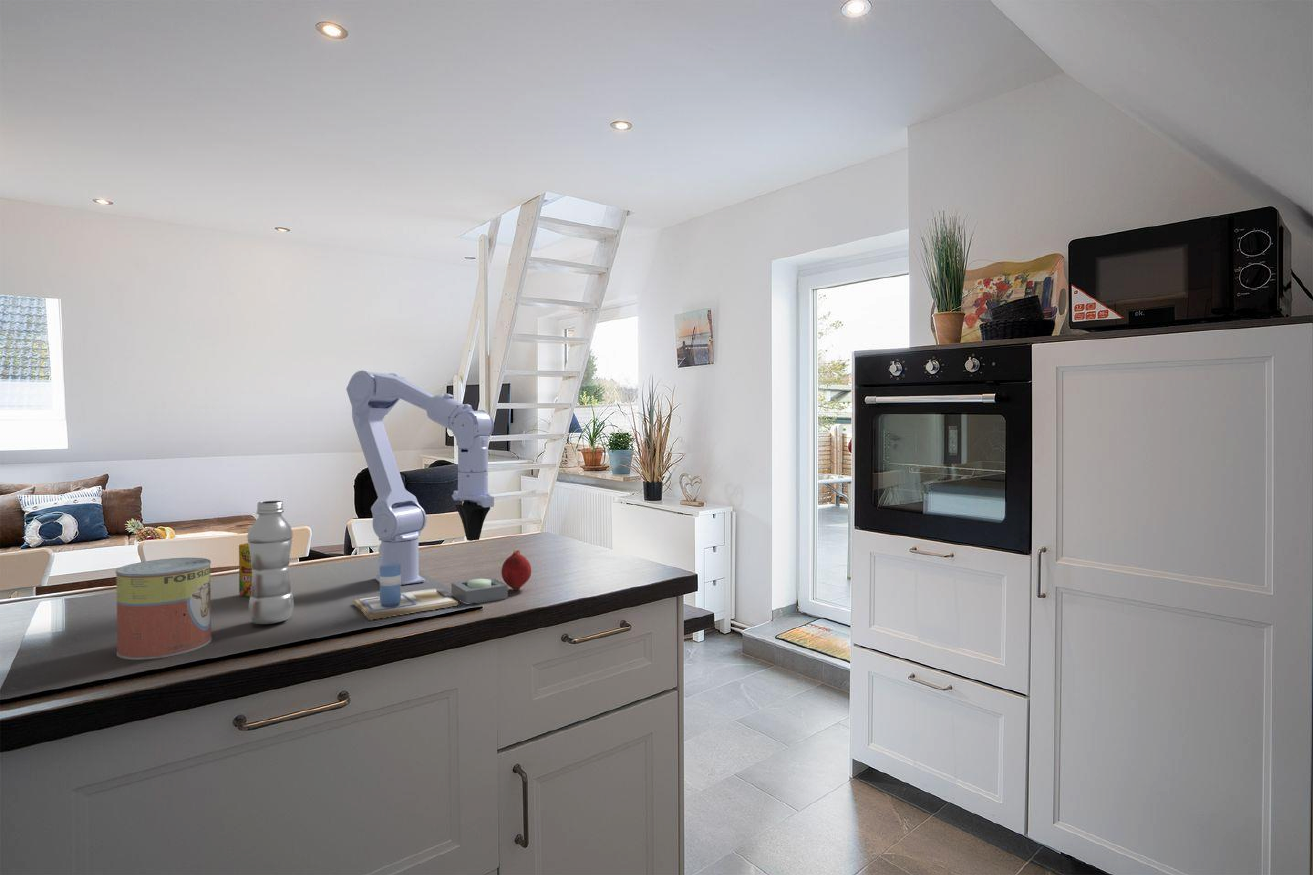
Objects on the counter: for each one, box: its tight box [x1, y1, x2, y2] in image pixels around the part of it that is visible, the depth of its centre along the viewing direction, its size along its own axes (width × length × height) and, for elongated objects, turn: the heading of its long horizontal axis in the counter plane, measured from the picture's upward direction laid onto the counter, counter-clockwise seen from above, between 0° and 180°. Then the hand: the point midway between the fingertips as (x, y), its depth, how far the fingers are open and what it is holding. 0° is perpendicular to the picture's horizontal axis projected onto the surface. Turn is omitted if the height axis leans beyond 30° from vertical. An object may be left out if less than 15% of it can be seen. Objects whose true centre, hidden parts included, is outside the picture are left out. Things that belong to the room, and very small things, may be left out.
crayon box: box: [238, 542, 252, 598], centre depth 126 cm, size 7×3×12 cm, turn 68°
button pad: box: [450, 576, 509, 604], centre depth 126 cm, size 8×8×2 cm
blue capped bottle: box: [379, 564, 402, 608], centre depth 117 cm, size 3×3×7 cm
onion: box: [500, 549, 532, 591], centre depth 132 cm, size 6×6×8 cm
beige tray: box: [353, 587, 459, 621], centre depth 120 cm, size 12×15×1 cm
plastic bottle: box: [246, 500, 295, 625], centre depth 109 cm, size 6×7×20 cm
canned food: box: [115, 557, 213, 661], centre depth 98 cm, size 11×11×12 cm
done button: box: [467, 578, 491, 589], centre depth 126 cm, size 4×4×2 cm
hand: (473, 539), depth 131 cm, fingers closed
